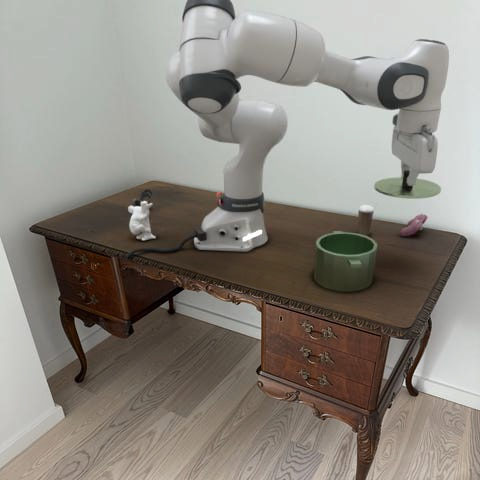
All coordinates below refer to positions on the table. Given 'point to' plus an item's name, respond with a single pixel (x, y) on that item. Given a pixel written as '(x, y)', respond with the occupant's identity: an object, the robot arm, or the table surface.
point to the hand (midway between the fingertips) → (407, 182)
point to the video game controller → (414, 225)
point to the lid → (407, 188)
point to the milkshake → (365, 219)
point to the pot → (344, 261)
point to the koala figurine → (141, 221)
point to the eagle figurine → (143, 198)
